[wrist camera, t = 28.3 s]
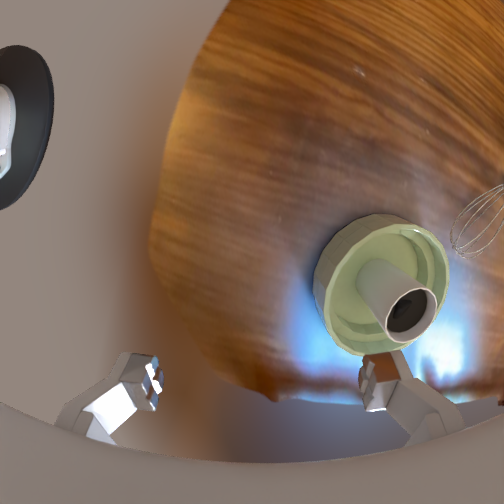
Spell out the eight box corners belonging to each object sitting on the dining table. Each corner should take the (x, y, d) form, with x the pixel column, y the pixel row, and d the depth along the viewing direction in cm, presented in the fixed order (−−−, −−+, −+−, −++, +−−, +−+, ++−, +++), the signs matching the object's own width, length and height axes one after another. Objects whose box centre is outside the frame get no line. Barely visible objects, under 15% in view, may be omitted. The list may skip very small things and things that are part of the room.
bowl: (347, 352, 41) (360, 378, 35) (285, 265, 36) (294, 286, 30) (438, 285, 38) (460, 302, 32) (396, 187, 33) (422, 193, 28)
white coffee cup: (348, 302, 37) (377, 345, 28) (357, 254, 35) (394, 287, 26) (391, 301, 38) (426, 340, 28) (401, 256, 36) (444, 286, 26)
